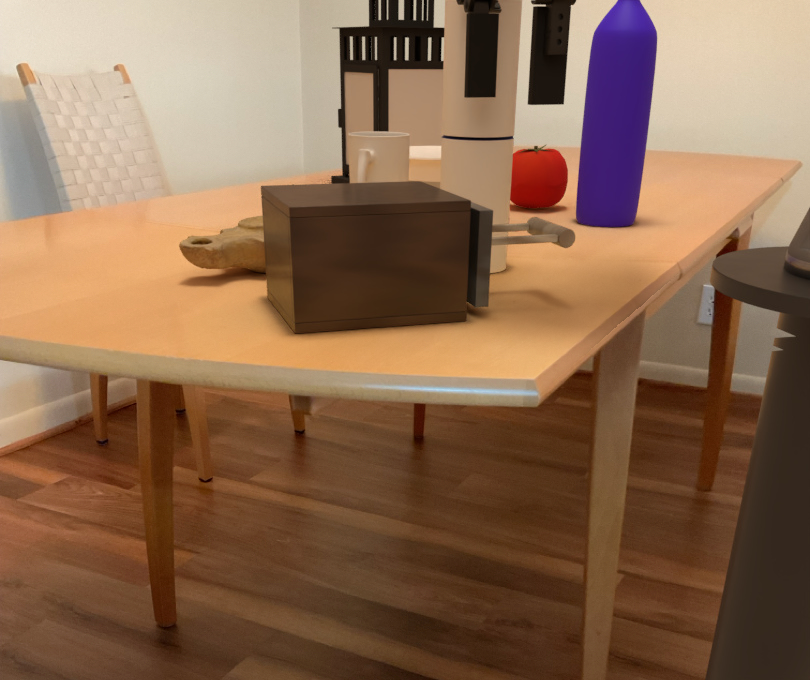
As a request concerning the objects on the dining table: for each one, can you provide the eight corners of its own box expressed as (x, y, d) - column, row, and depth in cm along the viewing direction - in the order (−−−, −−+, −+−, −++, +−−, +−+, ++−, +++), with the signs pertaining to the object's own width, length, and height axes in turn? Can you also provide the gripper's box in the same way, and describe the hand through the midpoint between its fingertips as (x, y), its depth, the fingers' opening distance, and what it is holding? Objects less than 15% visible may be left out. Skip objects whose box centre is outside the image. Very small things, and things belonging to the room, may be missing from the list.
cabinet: (419, 288, 87) (420, 180, 83) (466, 321, 77) (471, 200, 72) (267, 297, 83) (260, 185, 79) (295, 333, 73) (289, 206, 68)
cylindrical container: (434, 272, 94) (441, -13, 82) (441, 258, 100) (449, -8, 88) (504, 275, 93) (521, -12, 81) (507, 261, 99) (523, -8, 87)
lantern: (331, 183, 156) (324, -61, 140) (418, 177, 164) (422, -54, 147) (378, 195, 143) (377, -72, 127) (471, 189, 151) (481, -64, 134)
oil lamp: (175, 283, 88) (169, 229, 86) (238, 255, 100) (235, 207, 98) (277, 291, 85) (274, 236, 83) (330, 262, 98) (328, 213, 95)
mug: (361, 240, 109) (360, 130, 103) (415, 244, 107) (417, 132, 102) (331, 256, 100) (327, 137, 95) (388, 260, 99) (389, 139, 93)
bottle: (638, 228, 118) (671, -46, 104) (573, 226, 120) (598, -45, 105) (635, 218, 126) (666, -39, 111) (574, 216, 127) (597, -39, 113)
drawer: (527, 273, 89) (533, 188, 86) (581, 300, 80) (591, 206, 76) (303, 286, 83) (300, 196, 80) (333, 317, 74) (330, 216, 70)
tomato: (561, 203, 138) (566, 143, 134) (571, 214, 129) (576, 149, 125) (499, 202, 138) (502, 142, 134) (504, 213, 129) (508, 148, 125)
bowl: (474, 209, 132) (477, 145, 128) (514, 227, 118) (519, 156, 114) (366, 212, 128) (366, 146, 124) (395, 232, 114) (395, 158, 110)
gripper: (422, -191, 75) (420, 95, 85) (555, -284, 54) (531, 109, 64) (505, -184, 77) (494, 94, 87) (665, -272, 56) (626, 107, 66)
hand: (510, 101), depth 76 cm, fingers open, 13 cm apart
